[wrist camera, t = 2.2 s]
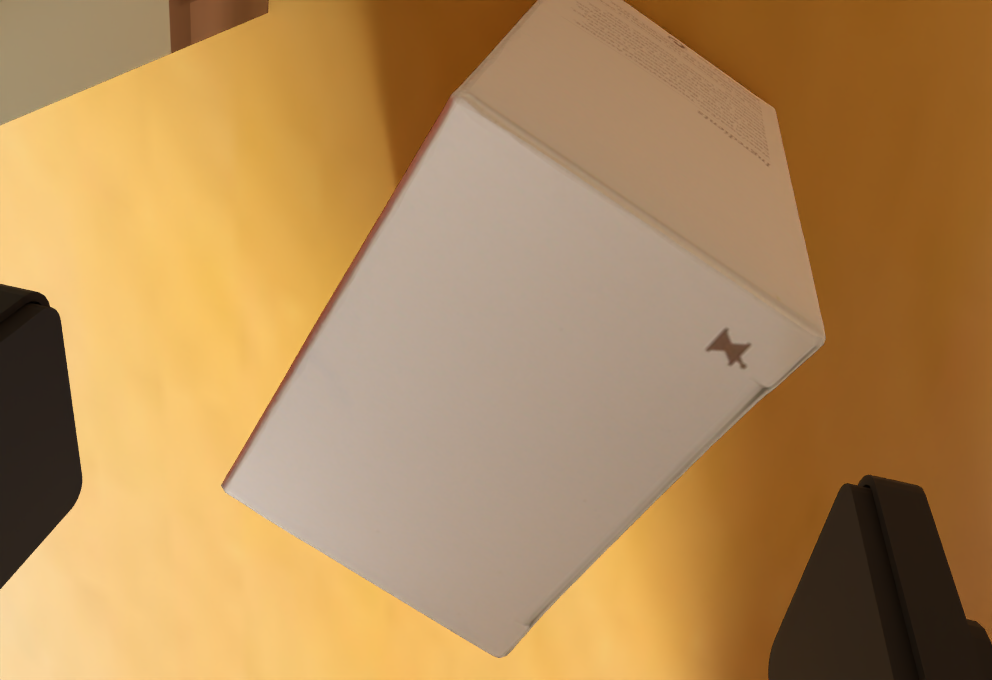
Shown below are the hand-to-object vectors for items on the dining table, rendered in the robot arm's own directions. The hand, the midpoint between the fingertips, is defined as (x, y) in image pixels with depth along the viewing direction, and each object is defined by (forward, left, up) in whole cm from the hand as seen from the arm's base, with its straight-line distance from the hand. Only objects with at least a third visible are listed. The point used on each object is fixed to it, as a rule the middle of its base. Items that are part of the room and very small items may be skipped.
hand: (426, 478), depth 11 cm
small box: (0, +1, -13) cm, 13 cm away
